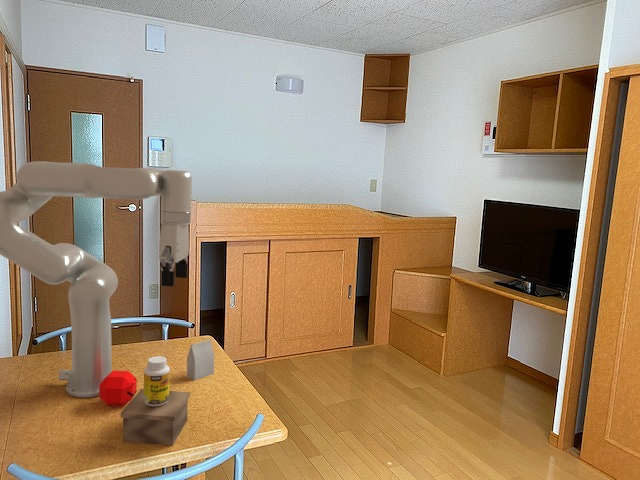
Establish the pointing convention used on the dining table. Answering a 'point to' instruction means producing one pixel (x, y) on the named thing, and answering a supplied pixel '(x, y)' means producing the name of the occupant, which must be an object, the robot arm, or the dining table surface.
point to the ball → (118, 388)
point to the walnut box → (155, 419)
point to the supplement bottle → (156, 382)
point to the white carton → (200, 360)
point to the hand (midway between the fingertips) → (174, 281)
